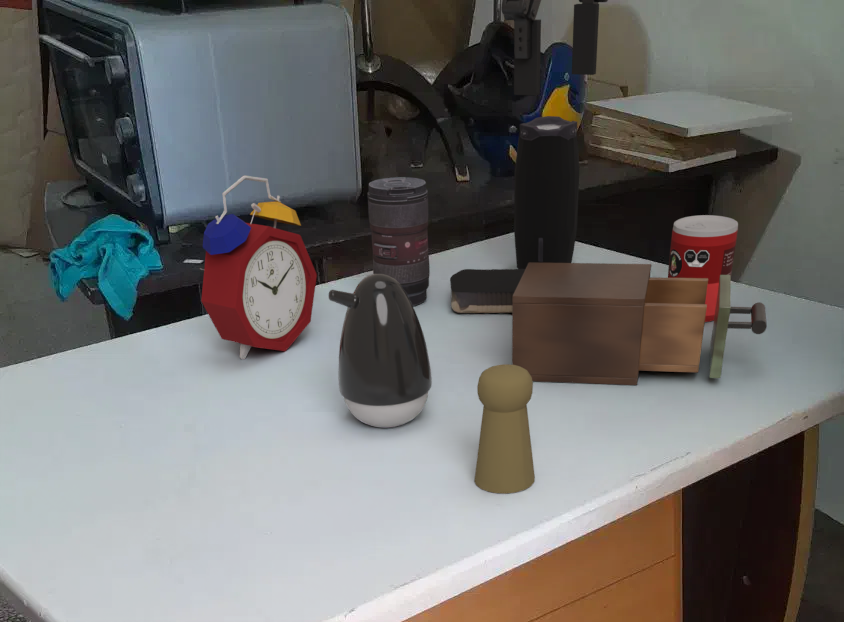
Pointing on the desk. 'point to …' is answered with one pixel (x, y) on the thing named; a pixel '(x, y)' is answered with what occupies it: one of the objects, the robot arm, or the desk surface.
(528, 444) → the tan game pawn
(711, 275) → the canned food
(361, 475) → the desk surface
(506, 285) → the scrub brush
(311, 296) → the alarm clock
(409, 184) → the camera lens
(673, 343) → the drawer
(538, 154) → the portable speaker
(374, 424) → the pump dispenser
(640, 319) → the cabinet
